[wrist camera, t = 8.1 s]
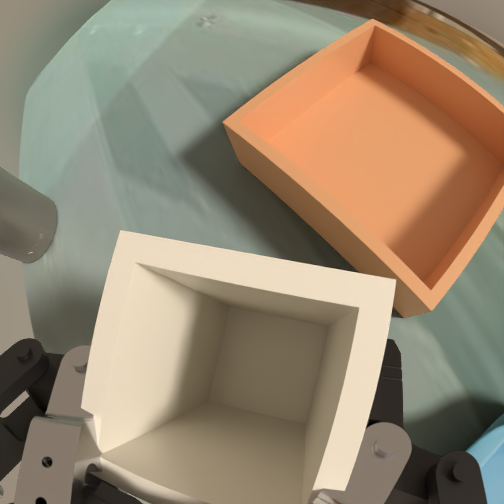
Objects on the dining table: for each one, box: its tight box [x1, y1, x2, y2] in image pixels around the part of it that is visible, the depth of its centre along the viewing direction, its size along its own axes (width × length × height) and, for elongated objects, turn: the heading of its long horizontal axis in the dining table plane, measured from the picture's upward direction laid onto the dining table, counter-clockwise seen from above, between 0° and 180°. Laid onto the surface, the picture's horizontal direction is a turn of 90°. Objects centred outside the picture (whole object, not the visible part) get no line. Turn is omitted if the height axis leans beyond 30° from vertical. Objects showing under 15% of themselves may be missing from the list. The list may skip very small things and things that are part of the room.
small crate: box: [81, 230, 396, 504], centre depth 10 cm, size 6×6×9 cm
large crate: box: [223, 19, 504, 318], centre depth 27 cm, size 22×22×7 cm
